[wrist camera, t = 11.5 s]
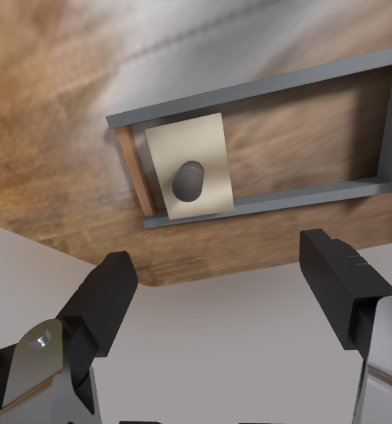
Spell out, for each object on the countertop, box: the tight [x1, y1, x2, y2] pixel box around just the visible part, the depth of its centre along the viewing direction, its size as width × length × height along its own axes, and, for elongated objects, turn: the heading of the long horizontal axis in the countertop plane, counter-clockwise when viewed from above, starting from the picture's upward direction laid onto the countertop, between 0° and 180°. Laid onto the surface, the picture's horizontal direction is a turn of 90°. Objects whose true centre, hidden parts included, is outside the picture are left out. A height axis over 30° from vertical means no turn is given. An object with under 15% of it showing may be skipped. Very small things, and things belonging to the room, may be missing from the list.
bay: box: [106, 48, 392, 228], centre depth 28 cm, size 17×38×5 cm, turn 101°
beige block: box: [144, 113, 234, 220], centre depth 26 cm, size 12×9×12 cm
